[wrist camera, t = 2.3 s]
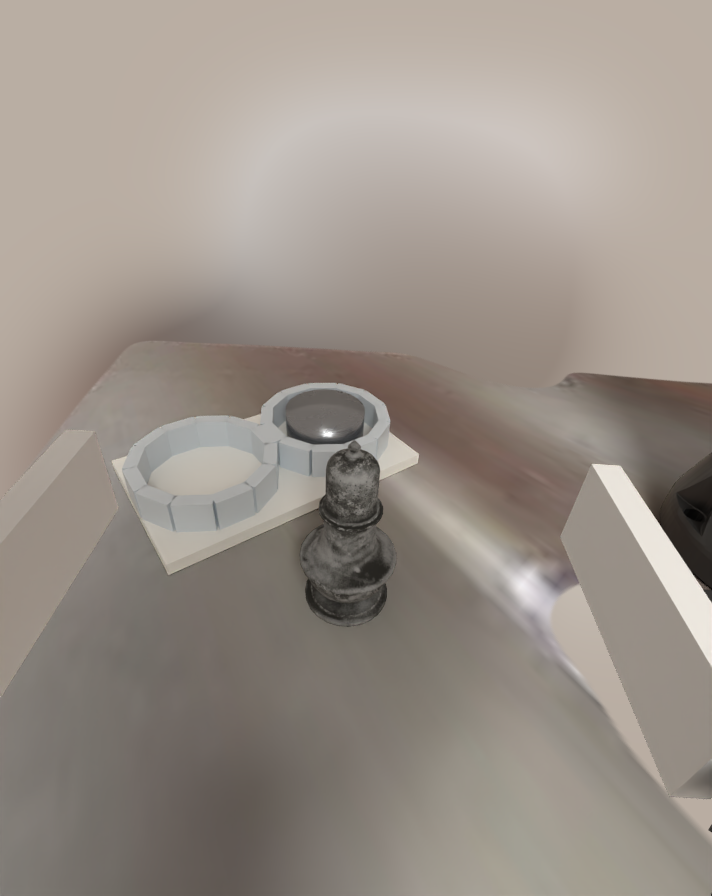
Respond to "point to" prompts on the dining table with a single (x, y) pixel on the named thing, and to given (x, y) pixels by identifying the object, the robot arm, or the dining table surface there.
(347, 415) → the grey metallic domed disc
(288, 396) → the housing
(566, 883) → the dining table surface
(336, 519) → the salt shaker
